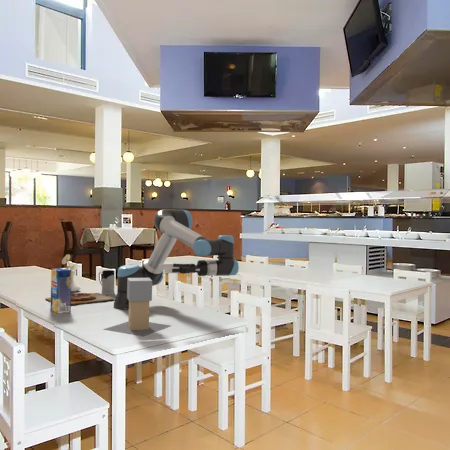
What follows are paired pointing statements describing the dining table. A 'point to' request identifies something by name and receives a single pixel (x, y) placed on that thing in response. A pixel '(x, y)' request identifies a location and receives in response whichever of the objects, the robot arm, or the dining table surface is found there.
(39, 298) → the dining table surface
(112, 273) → the grey metal pitcher
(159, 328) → the charcoal mat
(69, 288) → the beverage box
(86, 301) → the pizza
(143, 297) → the grey matte cube
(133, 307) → the carton base
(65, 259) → the flower in vase
